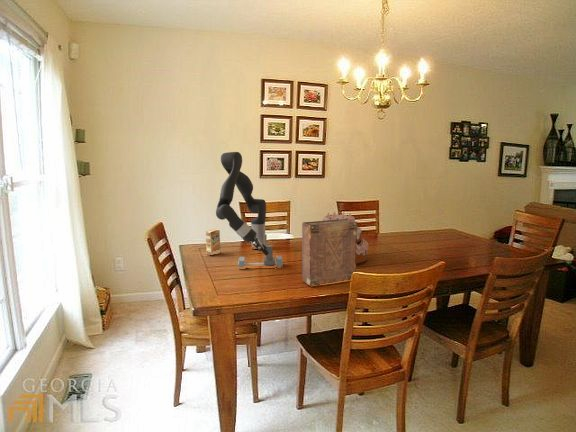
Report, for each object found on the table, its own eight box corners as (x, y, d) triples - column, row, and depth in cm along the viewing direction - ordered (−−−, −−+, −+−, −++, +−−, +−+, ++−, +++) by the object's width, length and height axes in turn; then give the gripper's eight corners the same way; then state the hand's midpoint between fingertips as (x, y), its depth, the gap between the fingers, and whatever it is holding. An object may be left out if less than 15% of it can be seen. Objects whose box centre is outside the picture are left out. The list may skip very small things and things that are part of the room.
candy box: (211, 256, 228) (210, 232, 225) (206, 255, 230) (205, 231, 227) (220, 253, 235) (220, 229, 233) (215, 252, 238) (214, 228, 235)
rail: (238, 269, 201) (237, 261, 201) (238, 265, 209) (238, 256, 208) (283, 268, 204) (283, 259, 203) (282, 264, 212) (282, 255, 211)
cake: (367, 269, 203) (369, 219, 198) (305, 265, 210) (305, 217, 205) (367, 252, 237) (369, 209, 232) (313, 249, 244) (313, 208, 239)
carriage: (264, 266, 204) (264, 247, 202) (263, 263, 209) (263, 244, 208) (275, 265, 204) (275, 247, 202) (274, 262, 210) (274, 244, 208)
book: (345, 275, 192) (347, 218, 187) (355, 280, 184) (357, 221, 179) (301, 282, 182) (302, 222, 177) (310, 288, 174) (310, 225, 169)
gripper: (250, 230, 195) (272, 250, 198) (250, 225, 209) (271, 244, 212) (241, 240, 196) (263, 260, 199) (241, 234, 210) (262, 253, 213)
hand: (267, 252), depth 206 cm, fingers open, 8 cm apart
